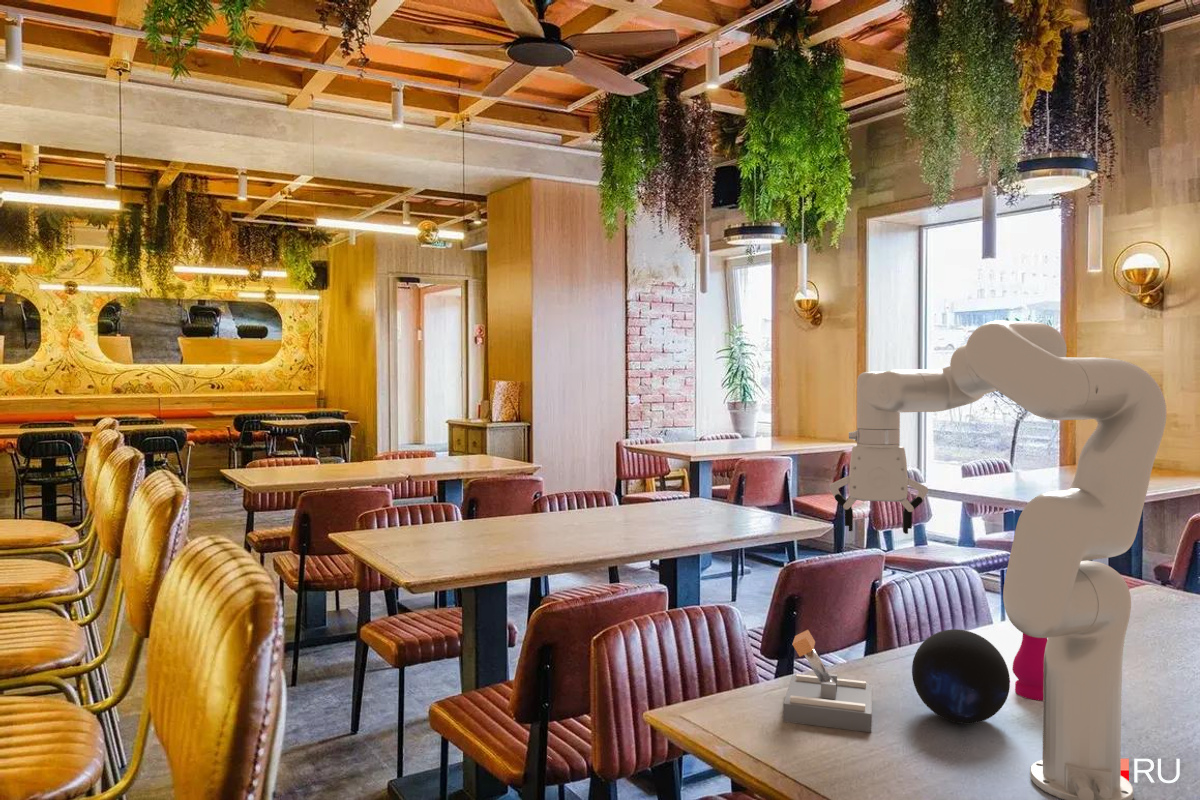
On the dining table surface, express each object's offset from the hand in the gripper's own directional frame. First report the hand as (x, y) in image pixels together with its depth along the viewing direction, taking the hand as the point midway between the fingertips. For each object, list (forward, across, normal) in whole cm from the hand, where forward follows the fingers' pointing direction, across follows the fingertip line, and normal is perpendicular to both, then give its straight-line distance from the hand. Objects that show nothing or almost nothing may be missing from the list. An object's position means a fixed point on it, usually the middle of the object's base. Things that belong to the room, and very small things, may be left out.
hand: (877, 531), depth 156 cm
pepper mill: (+30, +27, +5) cm, 41 cm away
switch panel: (+29, -8, -14) cm, 33 cm away
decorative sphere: (+30, +13, -11) cm, 34 cm away
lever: (+25, -8, -14) cm, 30 cm away
